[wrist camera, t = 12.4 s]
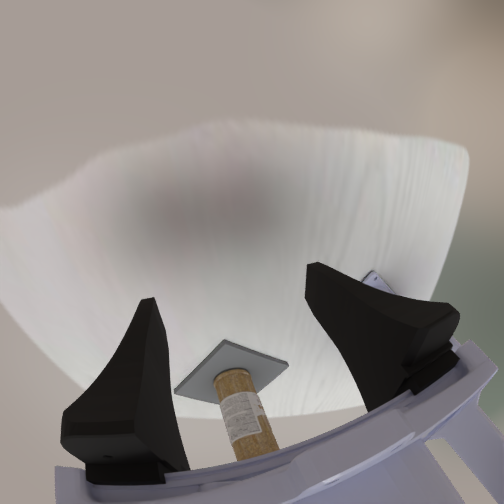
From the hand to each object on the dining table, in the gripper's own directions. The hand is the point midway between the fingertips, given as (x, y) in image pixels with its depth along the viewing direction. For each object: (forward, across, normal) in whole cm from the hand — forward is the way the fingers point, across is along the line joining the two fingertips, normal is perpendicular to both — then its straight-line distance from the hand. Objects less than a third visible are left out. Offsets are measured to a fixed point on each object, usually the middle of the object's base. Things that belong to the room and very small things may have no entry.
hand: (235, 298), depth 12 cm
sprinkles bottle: (+9, 0, +19) cm, 21 cm away
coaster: (+9, 0, +20) cm, 22 cm away
